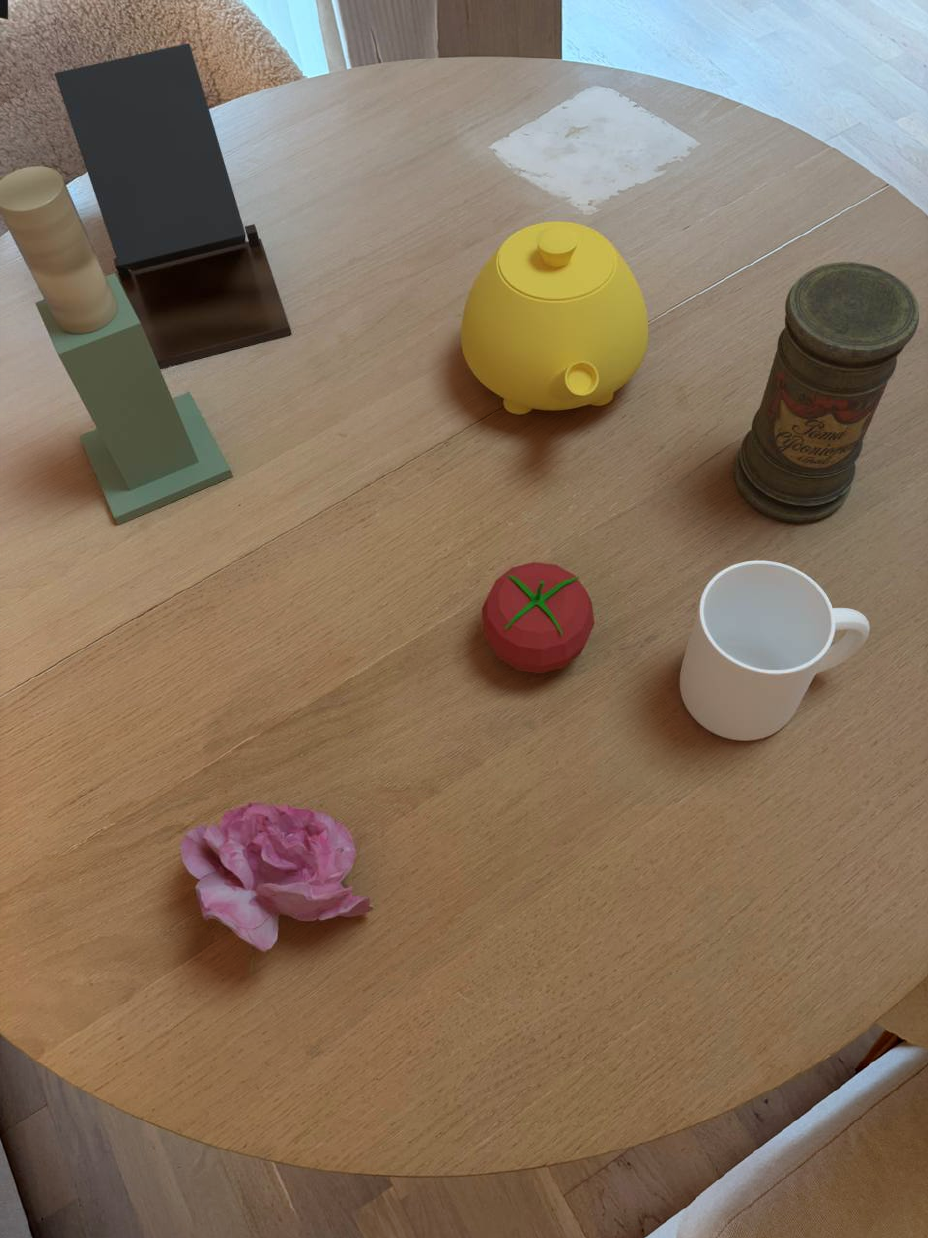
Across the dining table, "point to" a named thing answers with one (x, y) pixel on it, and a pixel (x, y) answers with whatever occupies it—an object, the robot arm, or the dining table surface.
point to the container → (824, 389)
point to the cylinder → (57, 249)
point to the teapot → (554, 320)
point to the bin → (152, 156)
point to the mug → (761, 648)
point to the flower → (271, 870)
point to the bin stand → (207, 302)
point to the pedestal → (135, 416)
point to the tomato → (537, 617)
